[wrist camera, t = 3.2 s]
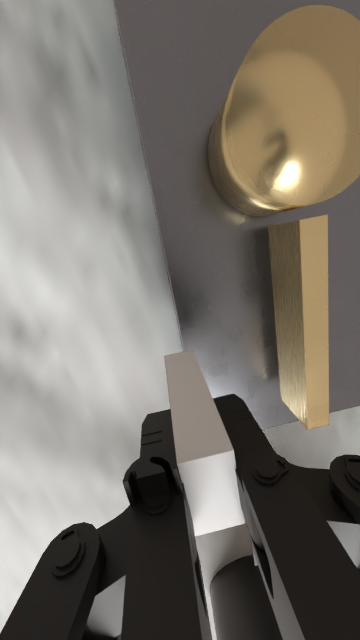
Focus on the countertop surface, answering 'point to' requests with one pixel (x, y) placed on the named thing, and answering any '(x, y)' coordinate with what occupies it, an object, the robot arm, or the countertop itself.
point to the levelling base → (217, 214)
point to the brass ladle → (294, 174)
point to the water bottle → (242, 603)
